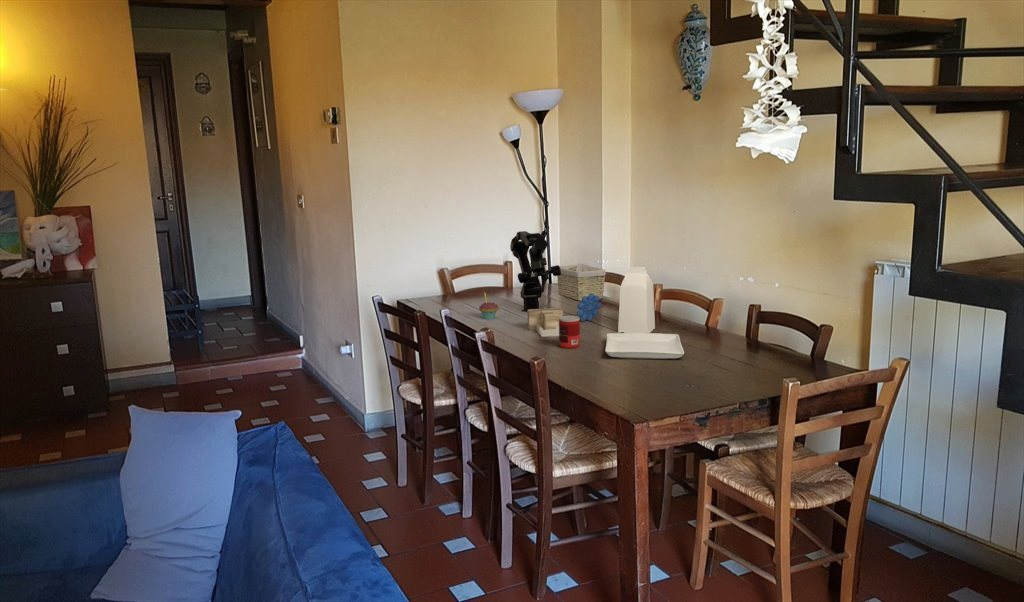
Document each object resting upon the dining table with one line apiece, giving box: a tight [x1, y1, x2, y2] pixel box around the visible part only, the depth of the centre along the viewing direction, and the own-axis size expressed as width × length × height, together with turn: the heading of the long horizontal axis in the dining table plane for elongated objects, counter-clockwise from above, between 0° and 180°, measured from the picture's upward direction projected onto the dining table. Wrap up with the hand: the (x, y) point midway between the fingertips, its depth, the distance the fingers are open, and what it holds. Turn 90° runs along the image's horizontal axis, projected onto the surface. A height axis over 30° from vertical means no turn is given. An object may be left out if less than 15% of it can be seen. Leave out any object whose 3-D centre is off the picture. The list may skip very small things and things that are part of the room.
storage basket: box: [556, 263, 607, 302], centre depth 379 cm, size 24×16×15 cm
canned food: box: [558, 315, 581, 350], centre depth 283 cm, size 8×8×11 cm
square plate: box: [604, 332, 685, 360], centre depth 276 cm, size 27×27×4 cm
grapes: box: [576, 293, 602, 322], centre depth 325 cm, size 12×7×12 cm, turn 113°
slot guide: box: [535, 324, 559, 337], centre depth 306 cm, size 12×8×2 cm
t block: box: [527, 307, 564, 331], centre depth 308 cm, size 14×14×8 cm
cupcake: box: [479, 291, 499, 320], centre depth 335 cm, size 9×8×12 cm
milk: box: [617, 265, 656, 333], centre depth 305 cm, size 12×12×26 cm
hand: (542, 292), depth 328 cm, fingers closed
